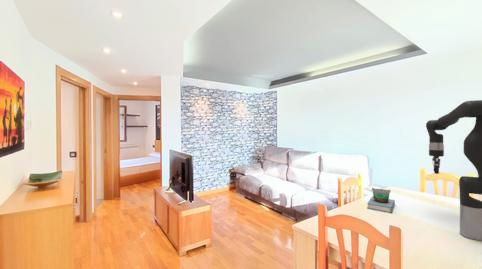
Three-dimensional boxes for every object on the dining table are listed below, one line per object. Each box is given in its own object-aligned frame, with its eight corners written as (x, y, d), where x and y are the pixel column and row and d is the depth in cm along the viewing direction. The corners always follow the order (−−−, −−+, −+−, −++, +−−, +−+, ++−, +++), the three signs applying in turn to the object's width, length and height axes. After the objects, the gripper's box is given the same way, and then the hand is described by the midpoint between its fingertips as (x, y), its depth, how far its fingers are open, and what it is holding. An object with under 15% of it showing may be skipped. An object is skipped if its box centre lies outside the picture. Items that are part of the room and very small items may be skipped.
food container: (372, 202, 161) (372, 189, 161) (371, 199, 167) (371, 187, 166) (391, 204, 155) (391, 191, 155) (390, 202, 161) (390, 189, 160)
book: (391, 213, 150) (391, 207, 150) (367, 208, 160) (367, 203, 160) (394, 205, 165) (394, 200, 165) (372, 201, 175) (372, 196, 175)
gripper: (444, 150, 137) (444, 175, 137) (442, 148, 148) (442, 171, 148) (429, 149, 142) (429, 173, 142) (428, 148, 152) (428, 170, 153)
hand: (436, 172), depth 145 cm, fingers open, 8 cm apart
